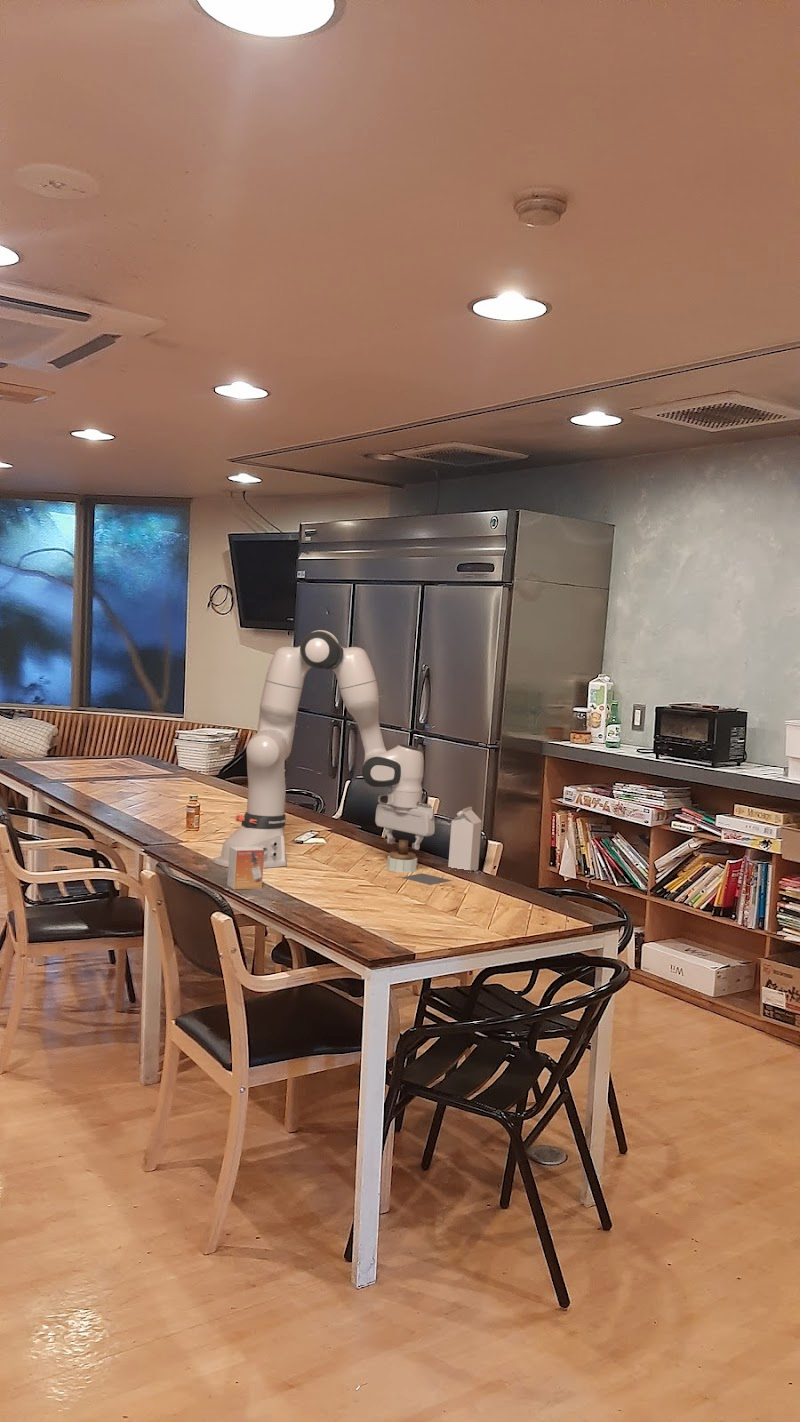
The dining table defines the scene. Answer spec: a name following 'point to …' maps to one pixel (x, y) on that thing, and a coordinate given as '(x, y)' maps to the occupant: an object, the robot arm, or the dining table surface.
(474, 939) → the dining table surface
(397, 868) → the bowl
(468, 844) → the milk carton
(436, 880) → the mat
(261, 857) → the small box
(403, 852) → the lid
